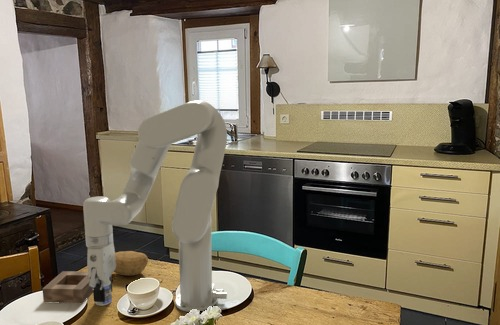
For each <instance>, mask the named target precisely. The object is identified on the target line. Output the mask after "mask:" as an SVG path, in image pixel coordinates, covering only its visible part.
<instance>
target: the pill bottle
mask: <svg viewBox="0 0 500 325" xmlns="http://www.w3.org/2000/svg"><path fill="white" fill-rule="evenodd" d="M97 278H99V277H97ZM110 280H111V279H110ZM110 280H109V277H108V278H107V279H106V280H105V281H103V288H105V301H104V302H95V305H96V306H106V305H109V304H110V303H111V302H112V301H113V295H112V293H113V292H111V281H110ZM96 283H98V284H100V281H96Z"/></svg>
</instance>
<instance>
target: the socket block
mask: <svg viewBox="0 0 500 325" xmlns="http://www.w3.org/2000/svg"><path fill="white" fill-rule="evenodd" d="M89 283H90V280H89V278H88V271H76V270H75V271H73V270H72V271H71V270H70V271H68V270H67V271H65V270H63V271H60V273H59V274H58V275H57V276H55V277H54V278H53V279H52V280H51V281H49V283H48V284H46V285H45V286H44V287H42V298H43V303H44V302H59V303H58V304H84V303H85V302H84V300H85V299H86V298H87V299H88V298H90V296H91V295H92V294H93V290H92V287H91V286H89ZM87 299H86V300H87ZM86 300H85V301H86ZM83 302H84V303H83Z"/></svg>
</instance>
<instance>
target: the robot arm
mask: <svg viewBox="0 0 500 325" xmlns="http://www.w3.org/2000/svg"><path fill="white" fill-rule="evenodd" d="M227 129H228V128H227V125H226V122H225V119H224V118H223V116H222V114H221V112H219V111H218V109H216V108H215V107H214V105H212V104H210V102H207V101H204V100H191V101H188V102H185V103H182V104H180V105H177V106H175V107H172V108H170V109H168V110H165V111H162V112H160V113H157V114H154V115H151V116H148V117H146V118H145V119H144V120H142V121H141V123H140V124H139V125H138V130H137V135H138V142H137V144H136V146H135V148H134V150H133V152H132V154H131V157H130V159H129V162H128V164H129V165H128V166H129V168H130V174H129V177H128V179H127V183H126V184H125V187H124V189H123V190H122V193H121V195H120V196H118V197H117V198H115V199H113V200H111V199H110V198H109V197H107V196H91V197H88V198H86V199H85V200H84V201H83V203H82V204H83V205H82V206H83V210H82V211H83V222H84V234H85V246H86V247H87V254H86V256H87V257H86V258H87V261H86V262H87V263H86V264H87V272H88V278H89V280H90V283H89V286H91V287H92V290H93V292H92V294H93V295H92V296H93V301H94V302H104V301H105V288H103V281H105V280H106V279H107V278H108V277H109V280H110V281H111V293H113V272H114V270H115V269H116V257H115V253H116V250H115V245H114V233H113V232H114V231H113V229H114V228H113V226H115V227H116V226H118V227H123V226H126V225H128V224H130V223H131V222H132V221H133V220H134V219H135V217H137V215H138V214H139V213H141V212H142V210H143V208H144V205H145V204H146V201H147V199H148V197H149V195H150V192H151V191H152V188H153V186H154V183H155V180H156V179H157V176H158V173H159V171H160V168H161V167H162V164H163V163H164V160H165V158H166V156H167V154H168V152H169V149H171V148H170V147H171V145H172V144H175V143H177V142H181V141H183V140H187V139H188V138H190V137H193V136H196V137H197V138H196V144H195V146H194V152H193V157H192V160H191V164H190V167H189V170H188V171H187V173H186V174H185V176H183V179H182V181H181V183H180V186H179V191H178V194H177V199H176V204H175V207H174V208H175V209H174V211H173V216H172V217H173V218H172V220H171V229H172V233H173V235H174V237H175V238H176V239H177V240H178V263H179V265H178V266H179V267H178V268H179V269H178V270H179V292H180V293H178V295H176V297H175V298H174V299H175V300H174V303H175V306H176V308H177V309H179V310H180V311H183V312H187V313H190V312H189V311H190V310H192V309H197V310H200V311H202V312H205V311H204V310H206V309H207V308H208V307H209V306H214V305H215V304H216V305H217V303H218V299H220V300H226V299H228V292H227V291H224V290H225V289H224V288H216V287H215V283H213V271H212V269H213V268H212V267H213V266H212V265H213V264H212V251H213V250H212V231H213V230H212V228H213V227H212V226H213V217H212V211H213V207H214V203H215V199H216V194H217V191H218V188H219V184H220V183H219V182H220V177H221V176H220V175H221V171H222V167H223V166H222V165H223V162H224V157H225V153H226V147H227V143H228V142H227V141H228V132H227V131H228V130H227ZM97 277H99V278H97ZM96 281H100V284H98V283H96ZM178 298H179V299H178ZM216 302H217V303H216ZM216 305H215V306H216ZM215 306H214V307H215ZM206 311H207V310H206Z"/></svg>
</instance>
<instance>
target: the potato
mask: <svg viewBox="0 0 500 325" xmlns="http://www.w3.org/2000/svg"><path fill="white" fill-rule="evenodd" d="M115 257H116V269H115V270H114V271H113V272H114V273H115V274H117V275H121V276H130V277H131V276H137V275H139V274H141V273H142V272H143V271H144V270H145V269H146V267H147V265H148V261H149V258H148V256H147V255H146V254H145V253H143V252H138V251H135V250H126V251H118V252H116V251H115Z"/></svg>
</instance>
